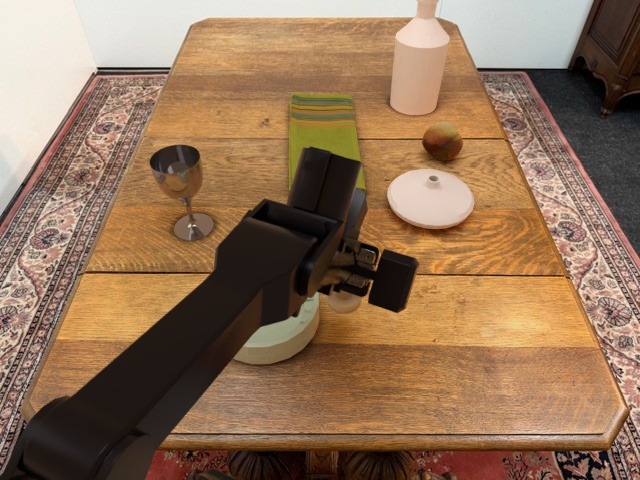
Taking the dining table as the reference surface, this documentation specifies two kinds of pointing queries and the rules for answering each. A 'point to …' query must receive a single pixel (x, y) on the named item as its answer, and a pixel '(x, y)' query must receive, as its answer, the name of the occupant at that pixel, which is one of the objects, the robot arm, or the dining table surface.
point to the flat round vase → (430, 198)
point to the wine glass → (182, 186)
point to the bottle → (419, 62)
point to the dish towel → (322, 128)
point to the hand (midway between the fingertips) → (349, 261)
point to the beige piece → (343, 302)
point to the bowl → (282, 336)
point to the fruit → (442, 141)
